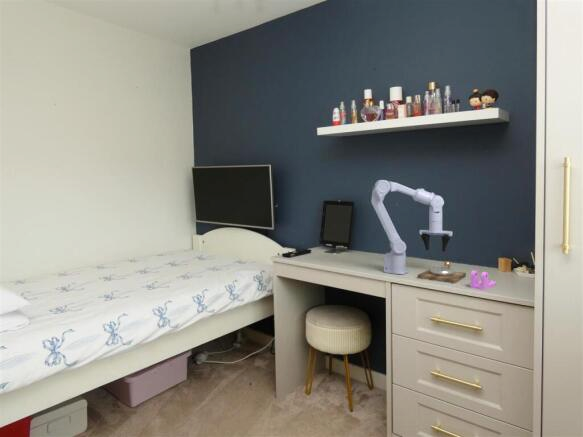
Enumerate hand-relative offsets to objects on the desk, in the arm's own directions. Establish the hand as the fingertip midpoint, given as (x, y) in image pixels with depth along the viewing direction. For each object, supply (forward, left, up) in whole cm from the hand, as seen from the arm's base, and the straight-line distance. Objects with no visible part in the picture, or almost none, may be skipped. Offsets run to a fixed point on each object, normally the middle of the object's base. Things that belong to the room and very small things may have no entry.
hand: (435, 250), depth 198 cm
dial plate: (+5, -7, -11) cm, 14 cm away
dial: (+5, -5, -9) cm, 12 cm away
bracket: (+24, -13, -11) cm, 30 cm away
